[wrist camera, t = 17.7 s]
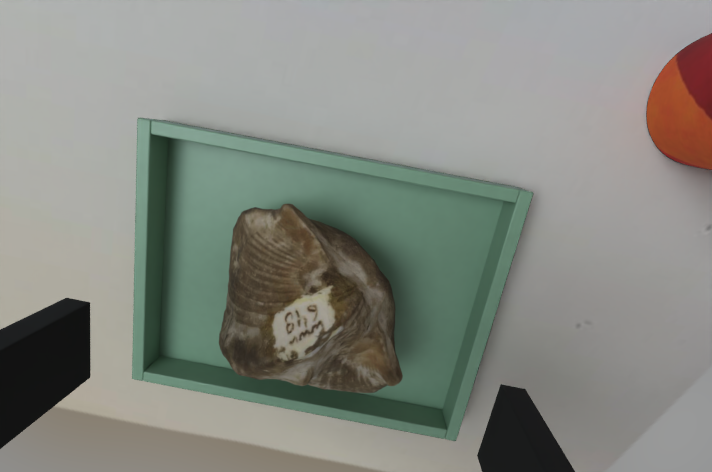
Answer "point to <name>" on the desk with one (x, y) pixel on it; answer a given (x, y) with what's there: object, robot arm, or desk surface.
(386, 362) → the fossilized seashell
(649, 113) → the paper cup
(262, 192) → the tray
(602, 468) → the desk surface
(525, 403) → the robot arm
